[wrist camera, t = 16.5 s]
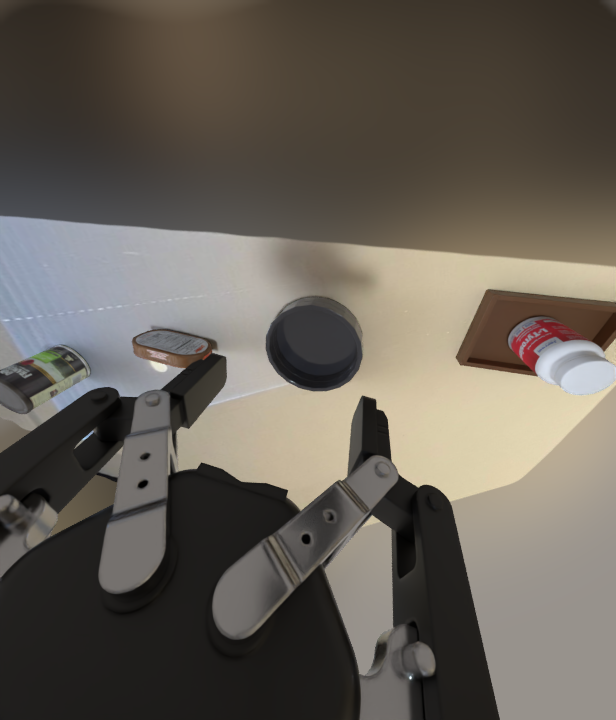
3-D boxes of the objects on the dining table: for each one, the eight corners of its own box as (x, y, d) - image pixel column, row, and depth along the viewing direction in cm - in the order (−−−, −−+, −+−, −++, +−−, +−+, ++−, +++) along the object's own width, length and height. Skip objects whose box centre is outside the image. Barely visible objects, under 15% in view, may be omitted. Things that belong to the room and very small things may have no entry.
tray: (623, 303, 31) (640, 309, 29) (567, 373, 37) (578, 382, 35) (486, 289, 34) (494, 294, 32) (455, 357, 40) (460, 365, 38)
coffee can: (46, 340, 60) (-32, 371, 48) (82, 350, 59) (11, 384, 47) (63, 372, 66) (-3, 407, 54) (96, 382, 65) (36, 419, 53)
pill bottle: (524, 310, 34) (582, 348, 24) (570, 320, 33) (647, 363, 24) (497, 347, 37) (539, 392, 28) (538, 357, 36) (595, 406, 27)
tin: (156, 336, 52) (122, 356, 45) (152, 323, 50) (117, 341, 43) (220, 352, 50) (196, 375, 43) (219, 339, 48) (194, 360, 41)
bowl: (294, 278, 39) (286, 285, 35) (381, 326, 40) (383, 338, 36) (262, 352, 48) (254, 364, 44) (334, 389, 49) (331, 404, 45)
